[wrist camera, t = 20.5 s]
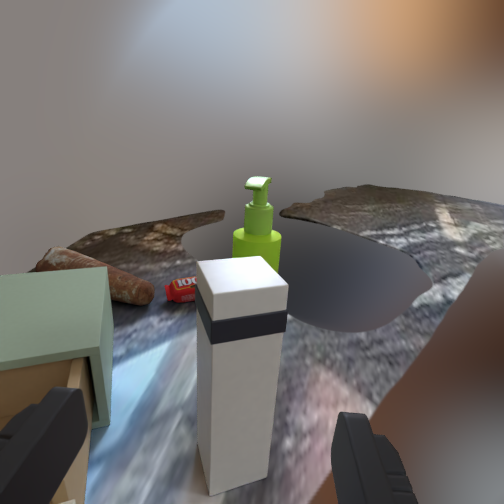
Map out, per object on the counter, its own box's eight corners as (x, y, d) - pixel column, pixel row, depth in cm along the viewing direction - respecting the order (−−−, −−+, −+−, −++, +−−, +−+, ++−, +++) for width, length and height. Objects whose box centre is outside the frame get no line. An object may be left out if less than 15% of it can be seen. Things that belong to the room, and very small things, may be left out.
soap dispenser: (221, 337, 42) (226, 179, 34) (236, 309, 48) (243, 171, 40) (265, 346, 40) (281, 185, 33) (275, 317, 47) (290, 176, 39)
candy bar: (168, 307, 47) (167, 289, 46) (164, 295, 50) (163, 278, 49) (267, 291, 54) (268, 275, 52) (257, 281, 57) (259, 266, 56)
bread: (70, 272, 56) (66, 241, 54) (162, 299, 49) (160, 266, 47) (35, 287, 50) (28, 253, 48) (132, 320, 44) (129, 283, 42)
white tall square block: (208, 499, 24) (211, 295, 17) (195, 441, 28) (194, 260, 22) (268, 478, 25) (291, 285, 19) (248, 427, 30) (261, 254, 23)
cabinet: (110, 425, 29) (99, 346, 26) (-88, 472, 24) (-132, 383, 21) (113, 326, 42) (106, 266, 39) (-14, 344, 38) (-33, 277, 34)
